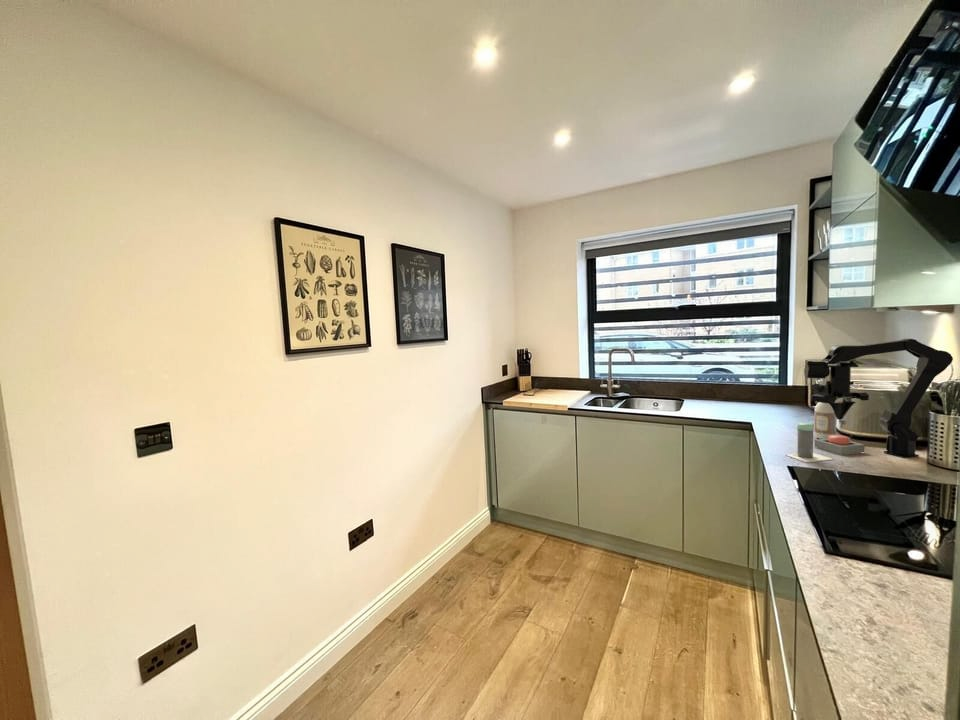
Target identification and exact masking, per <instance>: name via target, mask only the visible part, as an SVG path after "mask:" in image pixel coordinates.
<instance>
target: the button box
mask: <svg viewBox="0 0 960 720" xmlns="http://www.w3.org/2000/svg"><path fill="white" fill-rule="evenodd" d="M815 447H817V448H816V449H819V450H822V449H823V451H825V452H829V453H832V452H833V454H837V455H840V456H843V455H854V453H856V454H862V453H861V452H864V453H865V444H863V443H859V442H854V441H851V440H850V445H841V446H840V445H837V444H833V443H829V442H828V439H814V448H815Z"/></svg>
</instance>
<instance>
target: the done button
mask: <svg viewBox="0 0 960 720" xmlns="http://www.w3.org/2000/svg"><path fill="white" fill-rule="evenodd" d="M850 438H851V437H850V436H847V435H843V434H842V435H841V434H840V435H839V434H836V435H829V438H828V442H829V443H833V444H837V445H840V446H841V445H850V441H851V439H850Z"/></svg>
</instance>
